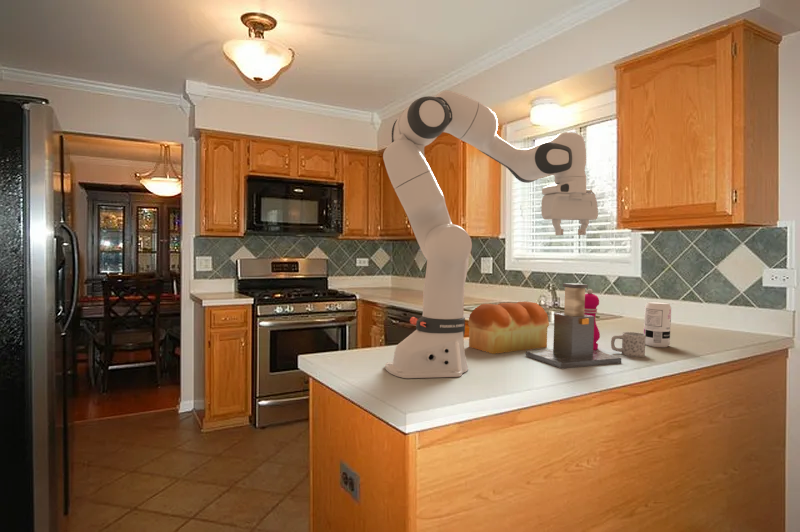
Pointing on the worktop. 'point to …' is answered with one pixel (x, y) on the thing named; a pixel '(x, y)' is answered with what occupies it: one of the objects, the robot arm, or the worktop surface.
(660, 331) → the supplement can
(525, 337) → the bread
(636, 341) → the mug
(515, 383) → the worktop surface
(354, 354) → the worktop surface
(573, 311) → the column
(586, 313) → the pink tall rounded piece
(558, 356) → the stand
